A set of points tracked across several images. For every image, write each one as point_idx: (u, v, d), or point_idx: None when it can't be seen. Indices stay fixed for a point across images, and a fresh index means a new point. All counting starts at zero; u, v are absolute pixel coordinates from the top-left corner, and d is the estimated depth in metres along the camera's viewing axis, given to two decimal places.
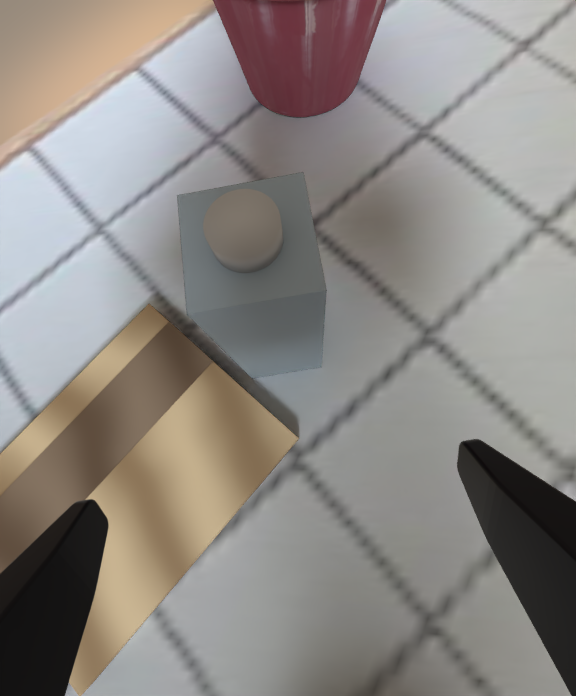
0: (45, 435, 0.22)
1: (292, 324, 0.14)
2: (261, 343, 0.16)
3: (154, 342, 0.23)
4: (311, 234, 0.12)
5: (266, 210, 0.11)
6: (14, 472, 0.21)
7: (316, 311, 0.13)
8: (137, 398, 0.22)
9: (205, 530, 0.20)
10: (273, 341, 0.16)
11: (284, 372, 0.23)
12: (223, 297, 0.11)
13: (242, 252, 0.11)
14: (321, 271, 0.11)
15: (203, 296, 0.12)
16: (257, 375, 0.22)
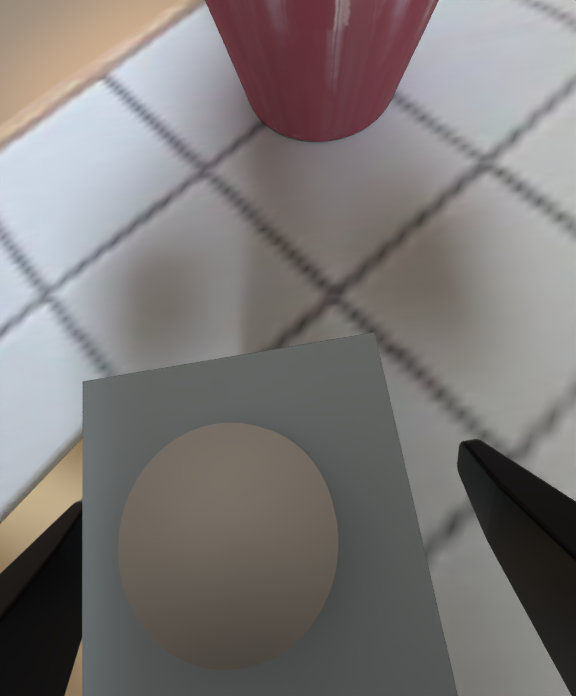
0: None
1: None
2: None
3: None
4: (405, 511, 0.05)
5: (296, 500, 0.04)
6: None
7: None
8: None
9: None
10: None
11: None
12: None
13: (226, 648, 0.04)
14: (440, 636, 0.04)
15: (128, 692, 0.04)
16: None
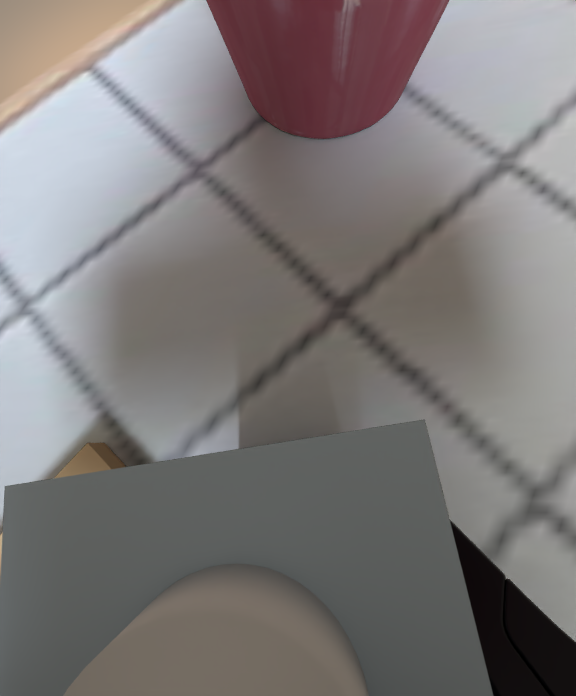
0: None
1: None
2: None
3: None
4: None
5: None
6: None
7: None
8: None
9: None
10: None
11: None
12: None
13: None
14: None
15: None
16: None
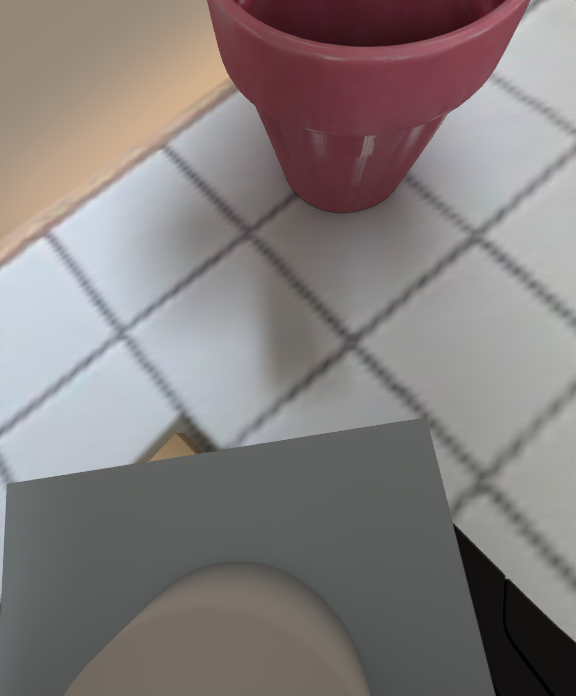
0: None
1: None
2: None
3: None
4: None
5: None
6: None
7: None
8: None
9: None
10: None
11: None
12: None
13: None
14: None
15: None
16: None
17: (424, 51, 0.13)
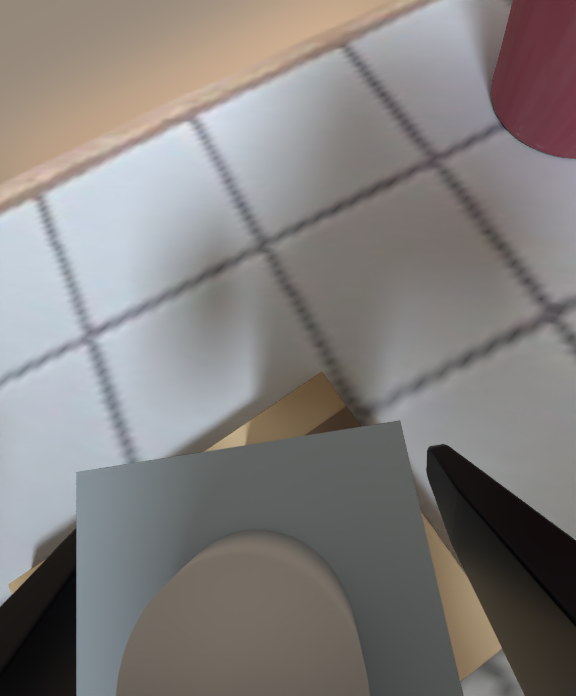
0: None
1: None
2: None
3: (320, 430, 0.17)
4: (437, 634, 0.04)
5: (321, 652, 0.03)
6: None
7: None
8: None
9: None
10: None
11: None
12: None
13: None
14: None
15: None
16: None
17: None
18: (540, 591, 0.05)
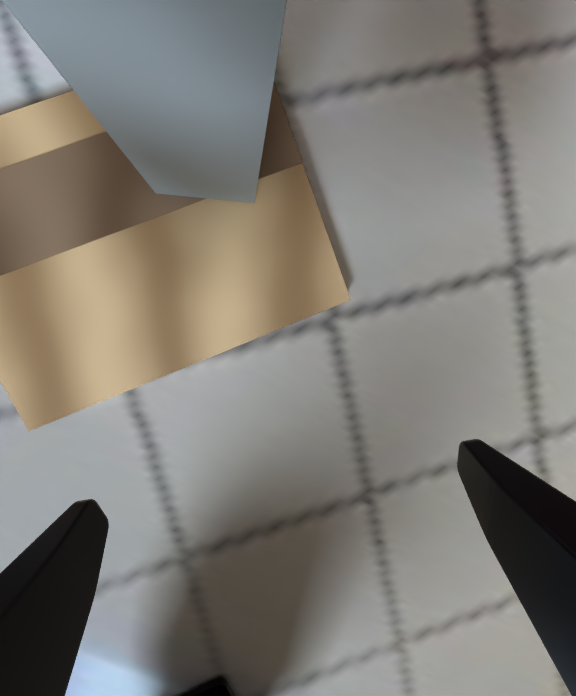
0: (52, 133, 0.16)
1: (214, 87, 0.08)
2: (160, 119, 0.09)
3: None
4: None
5: None
6: None
7: (259, 64, 0.07)
8: None
9: (216, 341, 0.18)
10: (180, 121, 0.09)
11: (202, 196, 0.16)
12: None
13: None
14: None
15: None
16: (163, 190, 0.16)
17: None
18: None
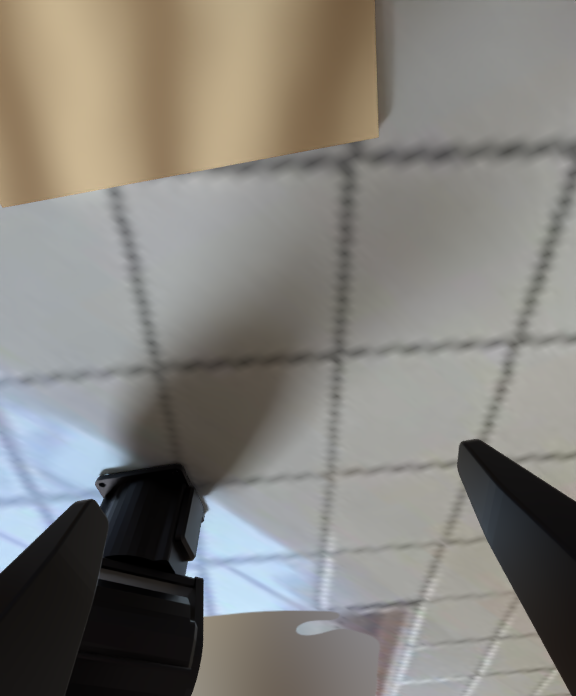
0: None
1: None
2: None
3: None
4: None
5: None
6: None
7: None
8: None
9: (213, 151, 0.15)
10: None
11: None
12: None
13: None
14: None
15: None
16: None
17: None
18: None
